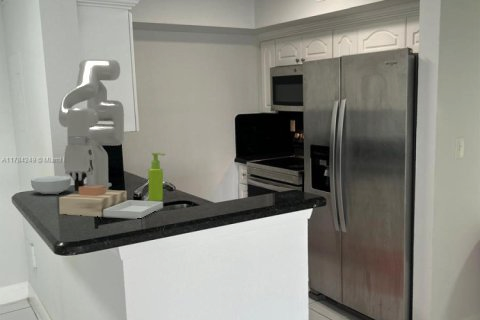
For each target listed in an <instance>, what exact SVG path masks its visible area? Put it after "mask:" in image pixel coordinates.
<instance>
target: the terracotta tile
mask: <svg viewBox="0 0 480 320" xmlns="http://www.w3.org/2000/svg"><path fill="white" fill-rule="evenodd" d="M78 192H79V195H87V196H98V195H101V194H104V193H106V185H91V184H89V185H86V184H84V186H80V187H79V191H78Z"/></svg>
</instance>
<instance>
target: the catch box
mask: <svg viewBox="0 0 480 320" xmlns="http://www.w3.org/2000/svg"><path fill="white" fill-rule="evenodd" d="M162 209H164V202H163V201H149V200H135V199H134V200H133V199H130V200H129V199H128V200H127V201H125V202H123V203H120V204H117V205H115V206H112V207H110V208H107V209H104V210H103V216H102V217H103V218H112V219H113V218H114V219H115V218H117V219H133V220H134V219H135V220H138V219H137V218H142V217H144V216H146V215H148V214H150V213H152V212H154V211H156V212H158V211H160V210H162ZM154 213H155V212H154ZM152 214H153V213H152ZM150 215H151V214H150ZM148 216H149V215H148ZM146 217H147V216H146ZM144 218H145V217H144ZM142 219H143V218H142Z"/></svg>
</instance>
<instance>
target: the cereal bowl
mask: <svg viewBox="0 0 480 320" xmlns="http://www.w3.org/2000/svg"><path fill="white" fill-rule="evenodd" d="M71 178H72V177H71V176H65V175H63V176H61V175H60V176H59V175H53V176H51V175H50V176H41V177H33V178H32V179H31V180H30V183H31V188H32V189H33V190H34V191H35V192H37V193H40V194H41V195H43V194H56V195H60V194H59V193H61V192H62V193H63V192H64V191H66V190H68V189H69V188H70V187H71V184H72V179H71ZM62 193H61V194H62Z"/></svg>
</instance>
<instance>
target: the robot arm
mask: <svg viewBox="0 0 480 320" xmlns="http://www.w3.org/2000/svg"><path fill="white" fill-rule="evenodd" d="M78 66H79V67H78V69H79V70H78V74H77V81H76V86H75V87H73V89H70V91H68V92H67V93H66V94H65V95H64V96H63V98H62V99H61V102H60V106H59V111H58V122H59V124H60V125H61V127H64V128H67V129H66V130H67V132H66V133H67V138H66V139H67V145H65V149H64V157H63V158H64V160H63V162H64V163H63V166H64V167H63V168H64V171H65V175H67V176H69V177H70V178H72V180H73V181H74V182H73V183H74V187H73V188H74V191H75V192H79V187H80V186H85V185H89V184H91V185H106V190H109V188H110V187H112V183H111V182H109V156H108V152H107V151H106V149H104V147H103V146H120V145H122V144H123V142H124V140H125V136H124V135H125V112H124V111H125V109H124V105H123V103H122V102H121V101H119V100H113V99H111V100H110V99H109V100H108V90H107V87H106V86H105V84H104V83H103V82H102V81H109V82H110V81H116V80H118V79H119V78H120V74H121V66H120V63H119V62H118V60H115V59H92V58H91V59H84V60H81V61H80V62H79V65H78ZM85 101H86V105H87V106H86V108H85V107H84V108H83V107H74V106H75V105H77V104H80V103H82V102H85ZM99 122H112V123H110V124H109V123H99ZM85 180H86V181H85ZM85 182H86V184H85Z"/></svg>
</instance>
